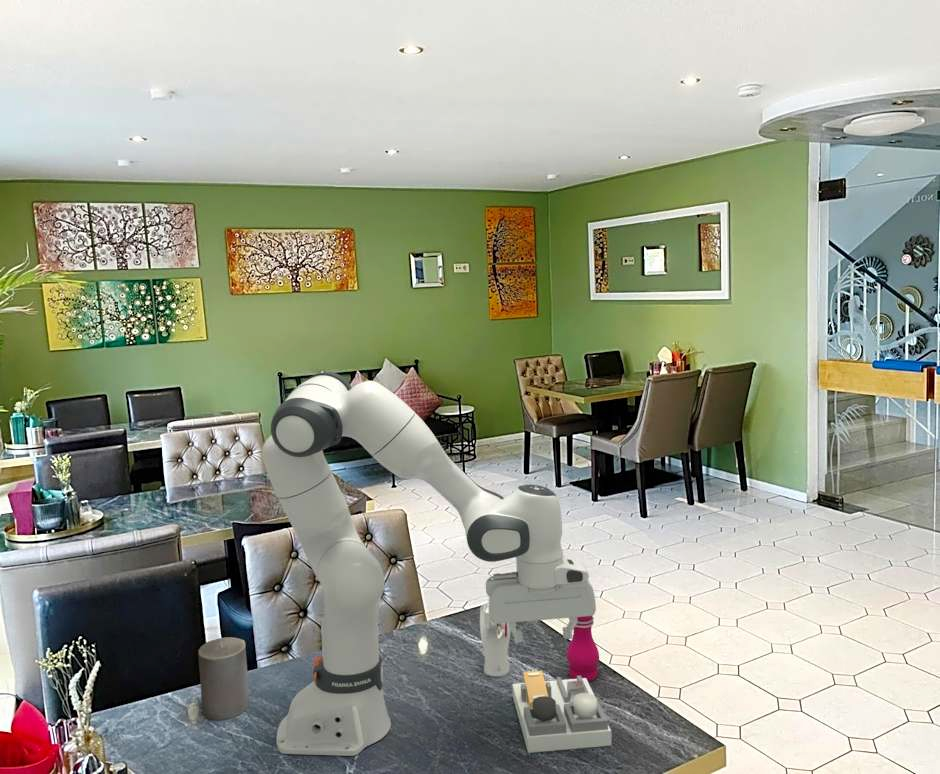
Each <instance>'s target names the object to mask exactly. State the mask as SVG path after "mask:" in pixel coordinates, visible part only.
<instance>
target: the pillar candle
mask: <svg viewBox="0 0 940 774" xmlns="http://www.w3.org/2000/svg"><path fill="white" fill-rule="evenodd" d="M246 650H247V649H246V641H245V640H244V639H241V638H237V637H230V636H229V637H219V638H215V639H213V640H210V641H208V642H205V643H204V644H203V645H201V646H200V647H199V649H198V667H199V680H200V681H199V682H200V683H199V684H200V697H201V710H202V715H203V716H204V717H205V718H207V719H209V720H212V721H213V720H214V721H224V720H229V719H233V718H236V717H237V716H239V715H241V714H243V713H244V712H246V711H247V709H248V707H249V705H250V691H249V677H248V676H249V675H248V664H247V663H248V662H247V651H246Z"/></svg>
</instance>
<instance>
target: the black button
mask: <svg viewBox="0 0 940 774" xmlns="http://www.w3.org/2000/svg"><path fill="white" fill-rule="evenodd" d="M533 716H534V717H535V718H536V719H538V720H541V721H549V720H552V719H554V718H555V717H556V701H555V700H554V699H553V698H551V697H547V696H541V697H537V698H535V699H534V700H533Z"/></svg>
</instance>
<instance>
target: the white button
mask: <svg viewBox="0 0 940 774" xmlns="http://www.w3.org/2000/svg"><path fill="white" fill-rule="evenodd" d="M597 701H598V700H597V697H596V696H595V694H594V695H592V694H589V693H580V694H577V695H575V696H574V713H575V714H576V715H578V716H580V717H592V716H594V715H596V713H597Z"/></svg>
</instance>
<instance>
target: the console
mask: <svg viewBox="0 0 940 774" xmlns="http://www.w3.org/2000/svg"><path fill="white" fill-rule="evenodd" d="M569 681H582V683H583V685H584V687H585V693H589V694H592V695H594V696H595V694H594V692H593V689H592V687H591V686H590V683H589V681H587V679H586V678H582V677H581V676H577V679H573V678H569V679H562V678H561V677H560V676H558V677H556V680H547V681H546V680H545V685H546V689H547V693H548V697H551V698H553V699H554V700H555V701H556V717H555V718H554V719H552V720H549V721H541V720H538V719H536V718H535V717H534V716H533V706H532V707H529V702H528V697H527V692H526V687H525V683H524V682H520V683H518V682H517V683H512V686H511V687H512V699H513V703H514V706H515V711H516V713H517V714H516V715H517V717H518V721H519V724H520V725H519V726H520V729H521V732H522V736H523V740H524V744H525V746H526V751H527V753H528V754H529V753H541V752H542V753H544V752H551V751H552V752H553V751H567V750H576V749H586V748H588V749H589V748H597V747H598V748H600V747H609V746H610V747H611V746H612V730H611V727H610V725H609V720H608V718H607V716H606V714H605V712H604V710H603V707H602V706H601V703H600V701H598V700H597V713H596V715H594V716H592V717H580V716H578V715H576V714H575V713H574V703H570V701H569V698H568V694H567V682H569Z"/></svg>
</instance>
